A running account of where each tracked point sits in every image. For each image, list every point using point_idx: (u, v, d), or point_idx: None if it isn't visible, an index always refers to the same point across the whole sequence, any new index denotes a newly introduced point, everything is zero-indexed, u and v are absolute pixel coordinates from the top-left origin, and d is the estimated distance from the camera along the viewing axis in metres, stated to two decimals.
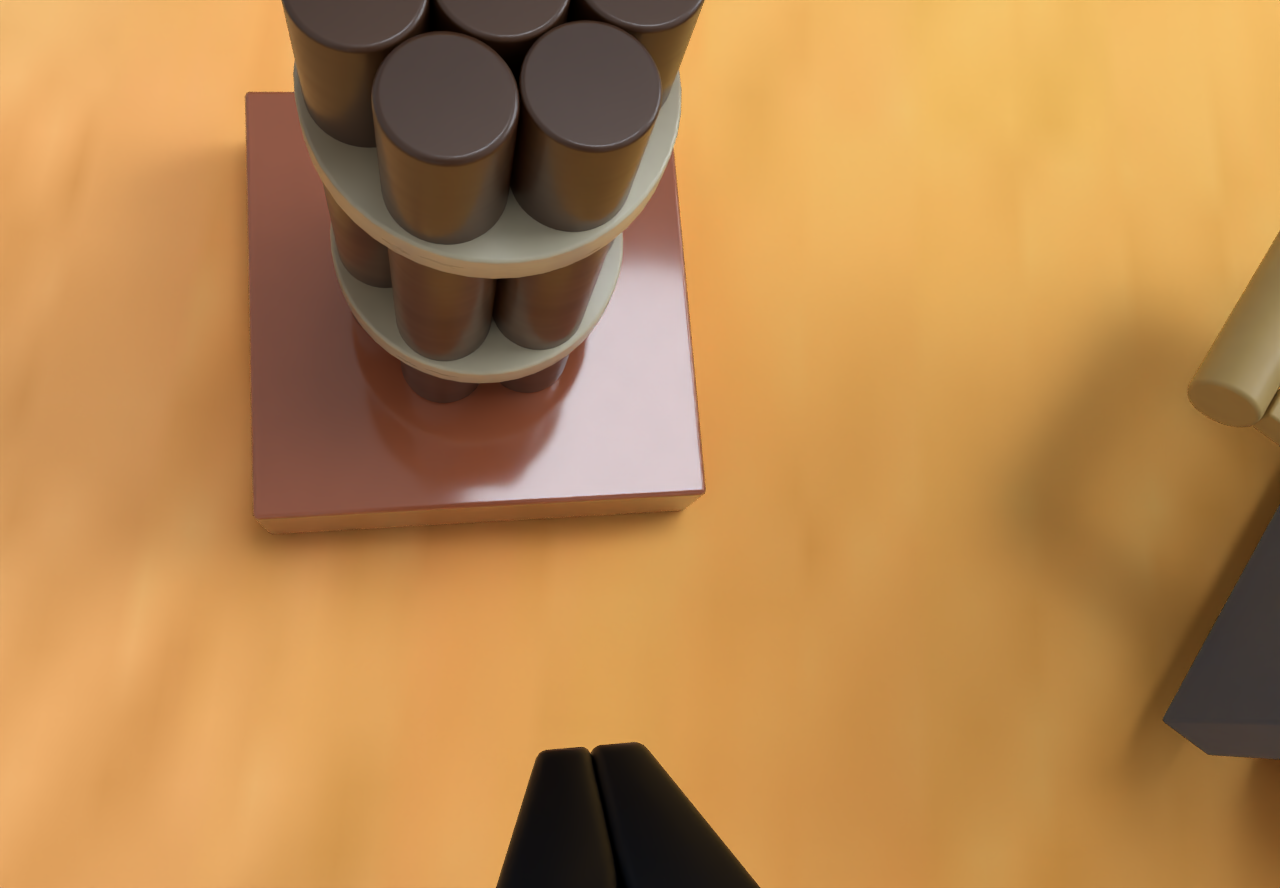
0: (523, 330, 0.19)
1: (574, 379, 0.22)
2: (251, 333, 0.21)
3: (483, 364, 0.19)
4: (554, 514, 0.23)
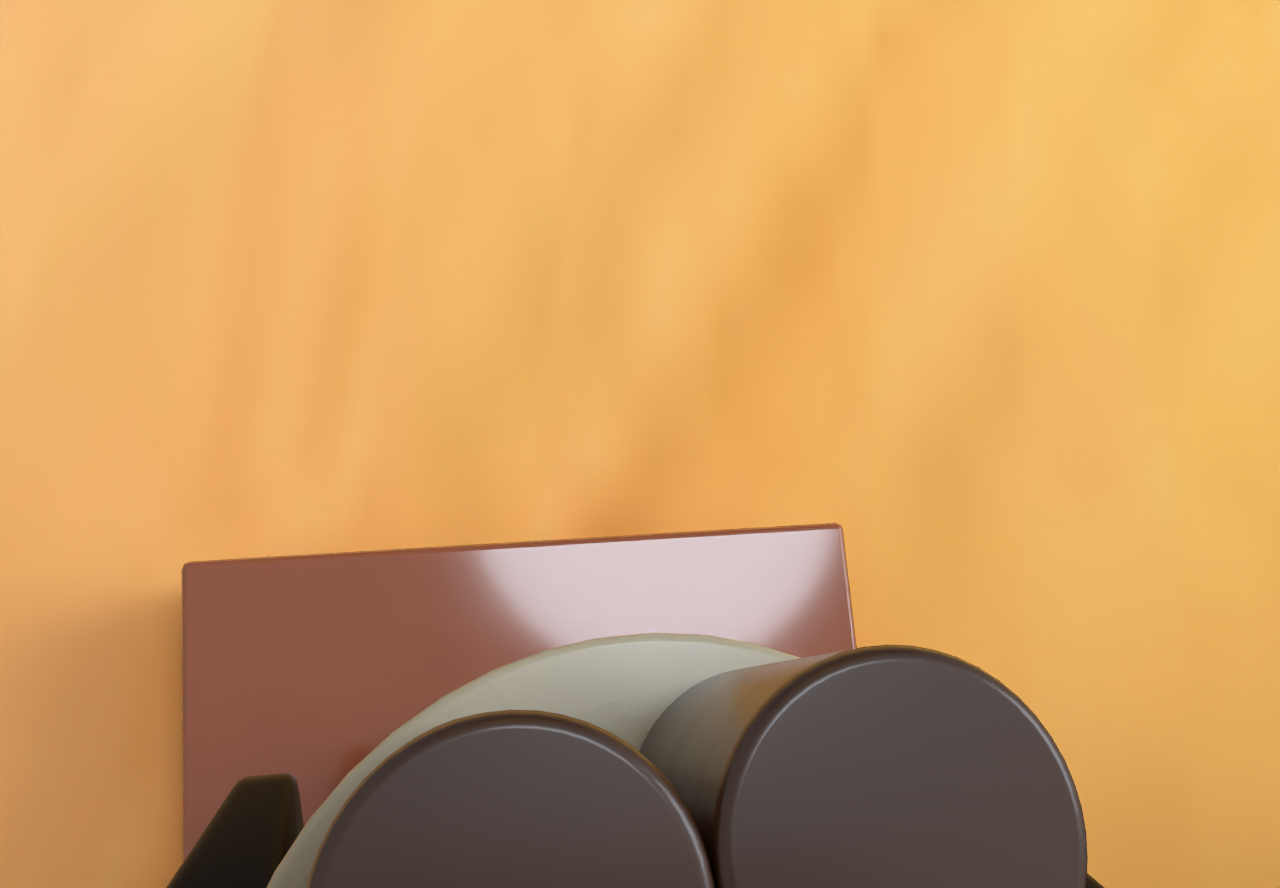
0: None
1: None
2: None
3: None
4: None
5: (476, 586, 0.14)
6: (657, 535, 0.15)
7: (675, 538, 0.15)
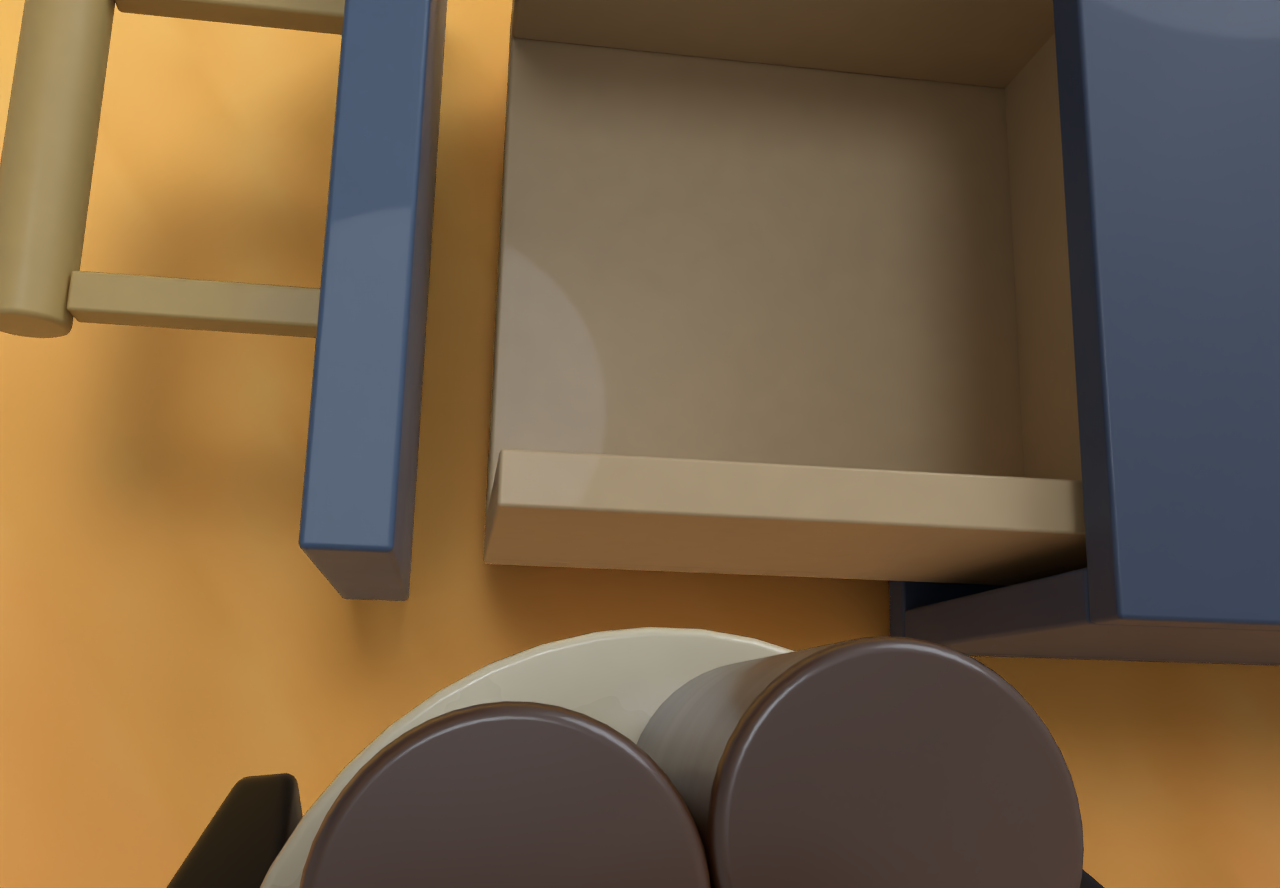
0: None
1: None
2: None
3: None
4: None
5: None
6: None
7: None
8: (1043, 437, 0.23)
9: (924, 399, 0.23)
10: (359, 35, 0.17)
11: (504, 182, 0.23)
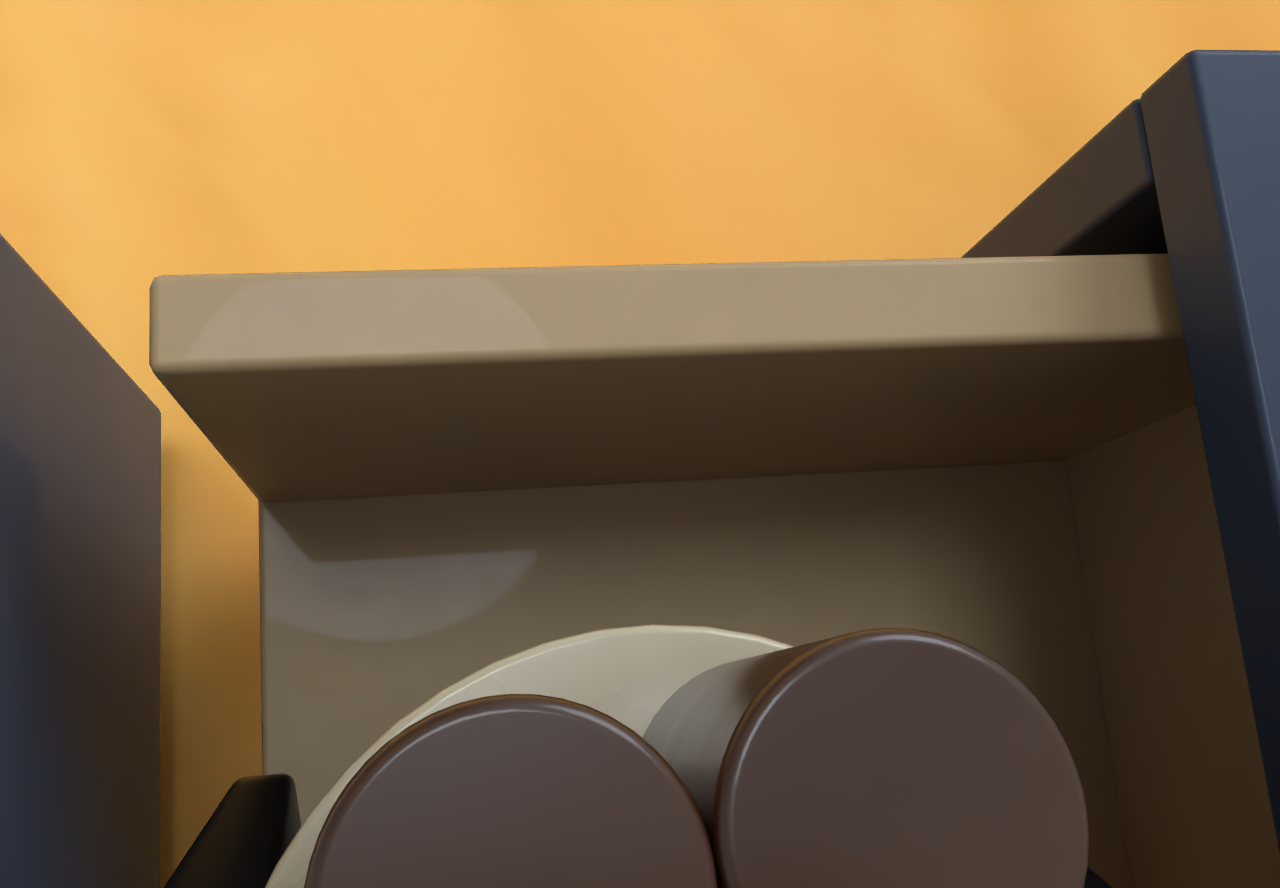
0: None
1: None
2: None
3: None
4: None
5: None
6: None
7: None
8: None
9: None
10: None
11: (264, 767, 0.14)
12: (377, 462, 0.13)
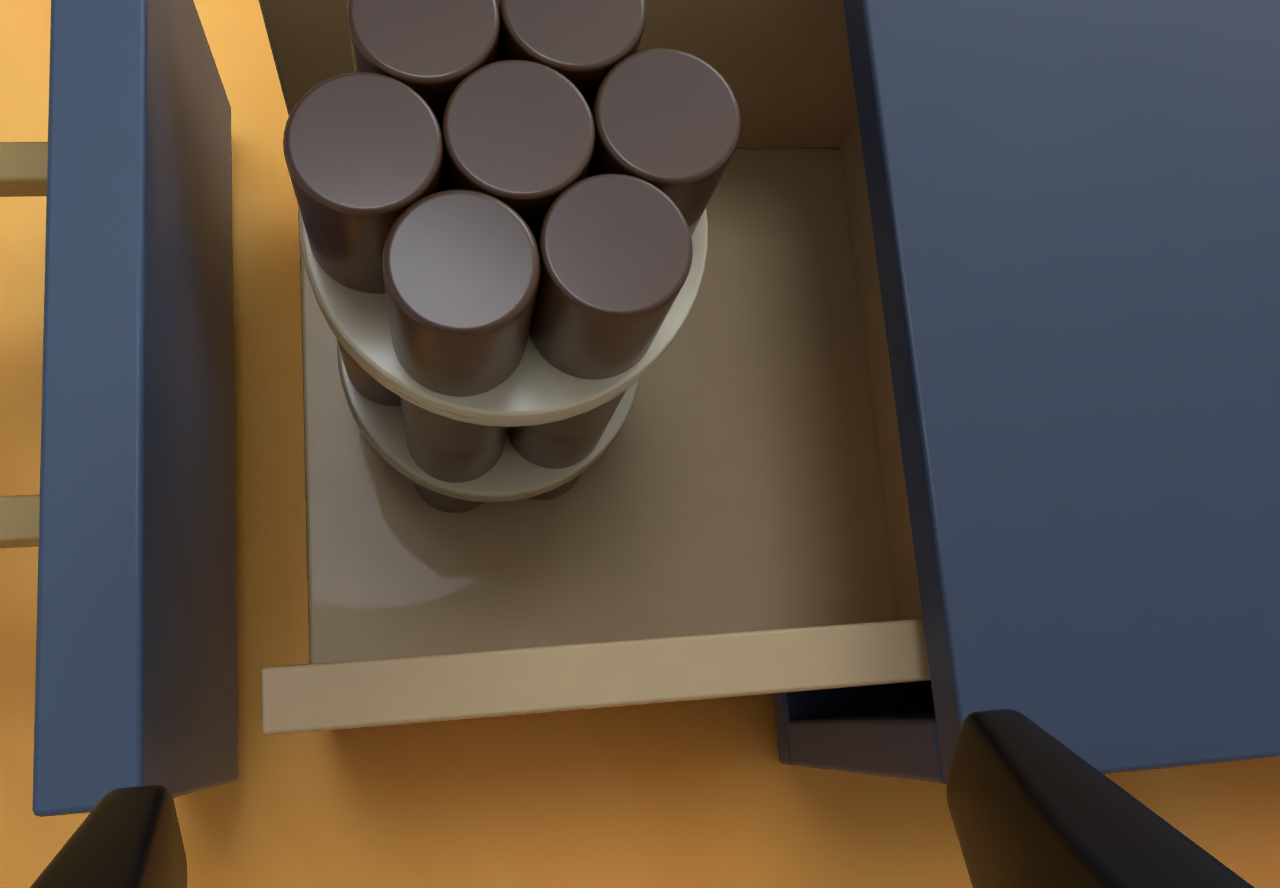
0: (539, 453, 0.18)
1: None
2: None
3: (497, 485, 0.18)
4: None
5: None
6: None
7: None
8: (905, 529, 0.21)
9: (779, 497, 0.22)
10: (65, 214, 0.15)
11: (302, 311, 0.21)
12: None
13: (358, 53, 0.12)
